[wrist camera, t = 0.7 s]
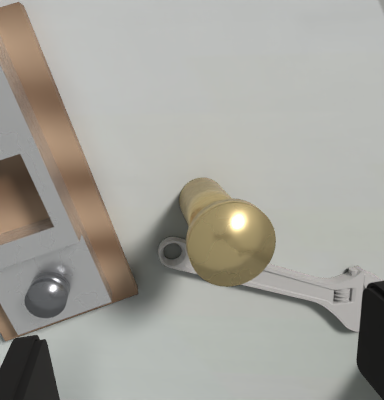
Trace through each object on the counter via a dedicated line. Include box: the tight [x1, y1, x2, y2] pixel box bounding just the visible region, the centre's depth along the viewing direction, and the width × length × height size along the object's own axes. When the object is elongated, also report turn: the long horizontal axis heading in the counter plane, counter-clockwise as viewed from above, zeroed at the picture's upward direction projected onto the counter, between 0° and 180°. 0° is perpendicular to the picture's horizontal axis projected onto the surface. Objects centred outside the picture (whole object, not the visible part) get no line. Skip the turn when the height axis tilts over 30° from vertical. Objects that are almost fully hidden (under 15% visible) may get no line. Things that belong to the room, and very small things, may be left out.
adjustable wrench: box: [158, 237, 383, 332], centre depth 35 cm, size 25×6×2 cm, turn 66°
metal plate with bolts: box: [0, 36, 112, 335], centre depth 26 cm, size 22×8×5 cm, turn 17°
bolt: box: [179, 178, 276, 287], centre depth 27 cm, size 6×6×10 cm
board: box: [0, 2, 138, 341], centre depth 29 cm, size 24×12×1 cm, turn 17°
